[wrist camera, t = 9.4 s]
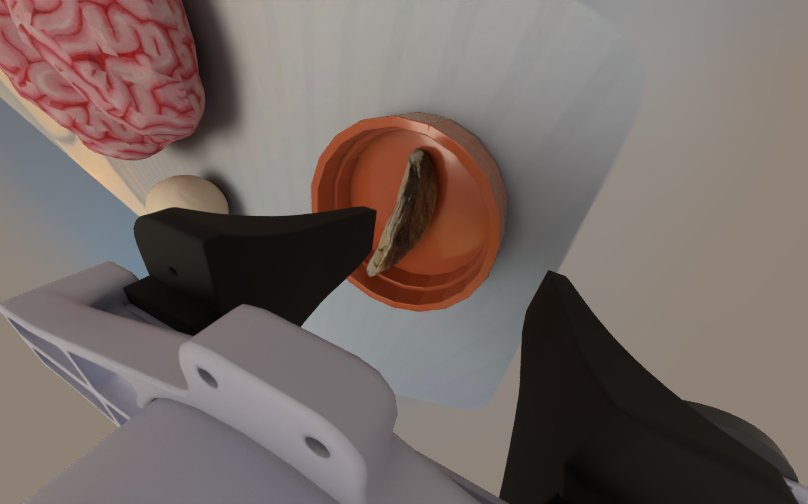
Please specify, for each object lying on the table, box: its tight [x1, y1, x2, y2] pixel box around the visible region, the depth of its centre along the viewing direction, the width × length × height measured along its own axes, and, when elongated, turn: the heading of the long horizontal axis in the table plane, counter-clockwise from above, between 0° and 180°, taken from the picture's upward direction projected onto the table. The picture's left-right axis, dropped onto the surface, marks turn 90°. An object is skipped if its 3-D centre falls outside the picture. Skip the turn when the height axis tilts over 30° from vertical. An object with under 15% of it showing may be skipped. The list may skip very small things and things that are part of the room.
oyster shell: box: [367, 148, 438, 277], centre depth 22 cm, size 6×4×10 cm
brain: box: [0, 0, 205, 160], centre depth 22 cm, size 19×18×10 cm
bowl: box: [311, 112, 507, 312], centre depth 21 cm, size 14×14×4 cm
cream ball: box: [145, 175, 229, 214], centre depth 30 cm, size 7×7×7 cm
